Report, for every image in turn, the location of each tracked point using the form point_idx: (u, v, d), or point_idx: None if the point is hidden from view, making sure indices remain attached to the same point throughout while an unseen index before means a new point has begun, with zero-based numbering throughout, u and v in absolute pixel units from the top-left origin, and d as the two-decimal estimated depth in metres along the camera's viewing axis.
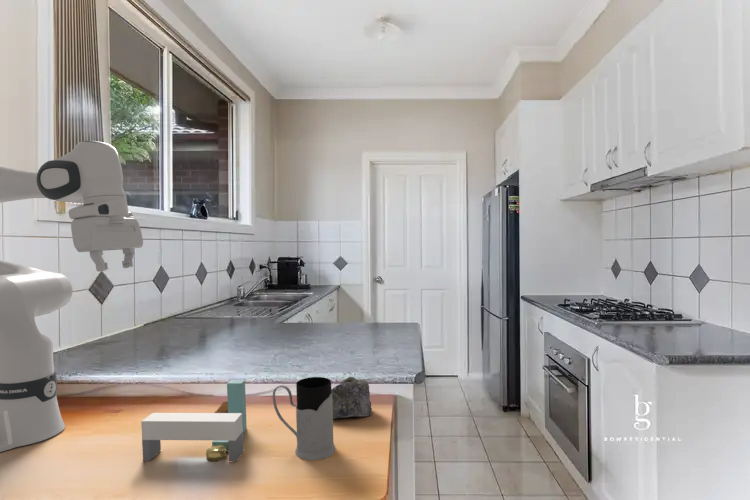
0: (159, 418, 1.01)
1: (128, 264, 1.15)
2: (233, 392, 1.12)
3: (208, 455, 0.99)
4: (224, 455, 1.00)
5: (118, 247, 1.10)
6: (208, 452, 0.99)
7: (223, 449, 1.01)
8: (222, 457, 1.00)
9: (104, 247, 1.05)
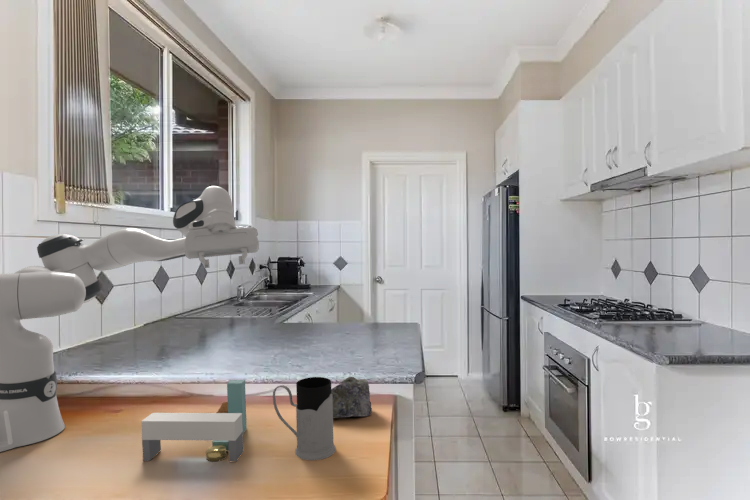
0: (159, 418, 1.01)
1: (239, 259, 1.33)
2: (233, 392, 1.12)
3: (208, 455, 0.99)
4: (224, 455, 1.00)
5: (220, 247, 1.33)
6: (208, 452, 0.99)
7: (223, 449, 1.01)
8: (222, 457, 1.00)
9: (202, 248, 1.31)
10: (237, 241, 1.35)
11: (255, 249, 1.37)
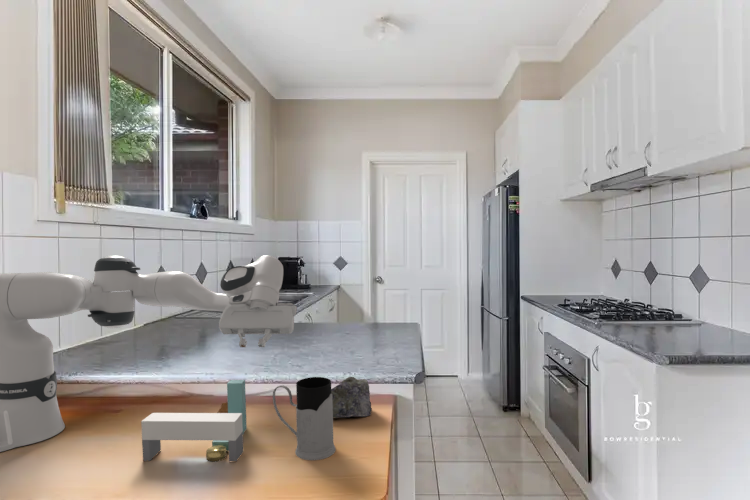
0: (159, 418, 1.01)
1: None
2: (233, 392, 1.12)
3: (208, 455, 0.99)
4: (224, 455, 1.00)
5: (252, 326, 1.27)
6: (208, 452, 0.99)
7: (223, 449, 1.01)
8: (222, 457, 1.00)
9: (234, 326, 1.28)
10: (270, 321, 1.28)
11: (288, 331, 1.28)
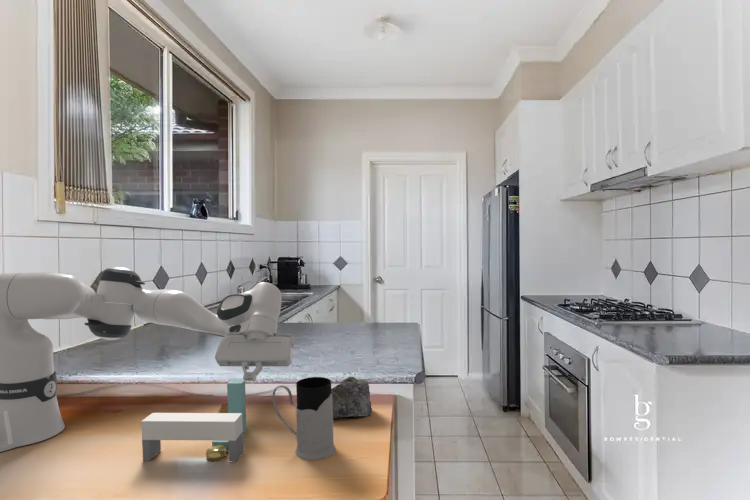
0: (159, 418, 1.01)
1: None
2: (233, 392, 1.12)
3: (208, 455, 0.99)
4: (224, 455, 1.00)
5: (249, 359, 1.24)
6: (208, 452, 0.99)
7: (223, 449, 1.01)
8: (222, 457, 1.00)
9: (231, 358, 1.24)
10: (268, 353, 1.25)
11: (286, 364, 1.25)
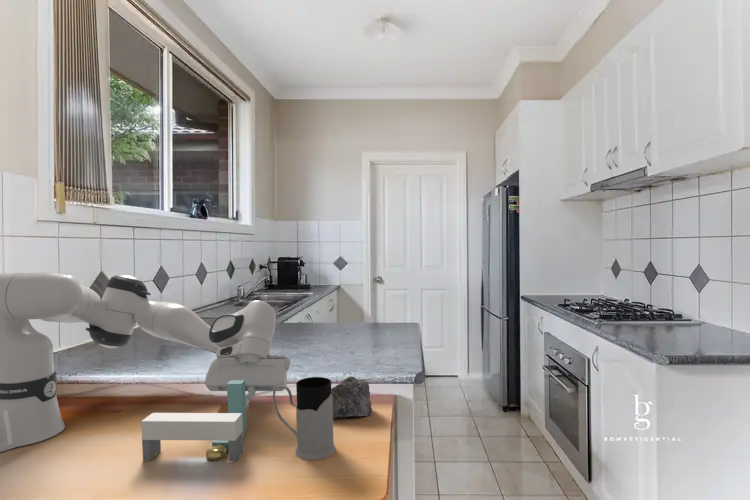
0: (159, 418, 1.01)
1: None
2: (233, 392, 1.12)
3: (208, 455, 0.99)
4: (224, 455, 1.00)
5: None
6: (208, 452, 0.99)
7: (223, 449, 1.01)
8: (222, 457, 1.00)
9: (222, 383, 1.17)
10: (261, 377, 1.18)
11: (280, 388, 1.18)
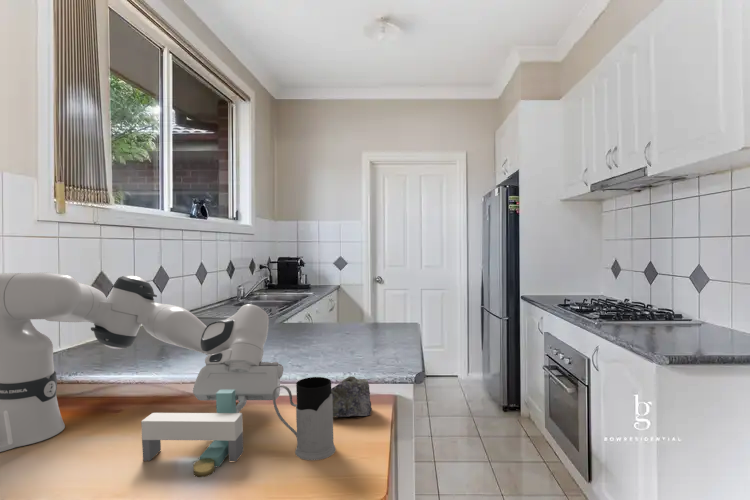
0: (159, 418, 1.01)
1: None
2: (223, 402, 1.05)
3: (195, 469, 0.93)
4: (212, 469, 0.94)
5: None
6: (195, 466, 0.93)
7: (211, 463, 0.95)
8: (210, 471, 0.93)
9: (211, 392, 1.11)
10: (252, 386, 1.11)
11: (272, 397, 1.11)
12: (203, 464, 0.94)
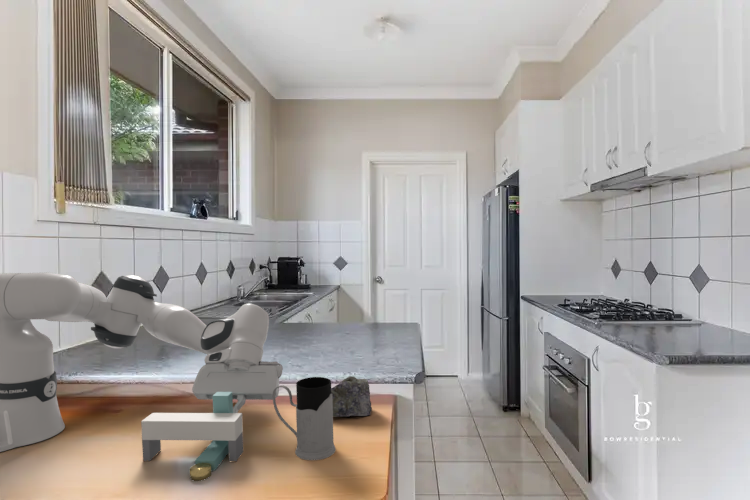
0: (159, 418, 1.01)
1: None
2: (220, 405, 1.04)
3: (191, 474, 0.91)
4: (209, 474, 0.93)
5: (230, 391, 1.11)
6: (191, 470, 0.92)
7: (208, 467, 0.93)
8: (206, 476, 0.92)
9: (210, 391, 1.11)
10: (251, 385, 1.11)
11: (271, 397, 1.11)
12: (199, 468, 0.93)
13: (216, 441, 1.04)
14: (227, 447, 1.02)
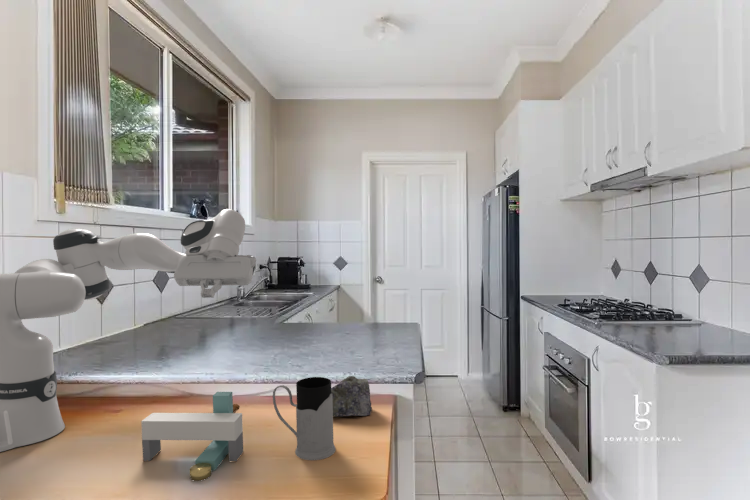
0: (159, 418, 1.01)
1: None
2: (220, 405, 1.04)
3: (191, 474, 0.91)
4: (209, 474, 0.93)
5: (207, 276, 1.23)
6: (191, 470, 0.92)
7: (208, 467, 0.93)
8: (206, 476, 0.92)
9: (190, 276, 1.24)
10: (227, 271, 1.24)
11: (245, 282, 1.24)
12: (199, 468, 0.93)
13: (216, 441, 1.04)
14: (227, 447, 1.02)
